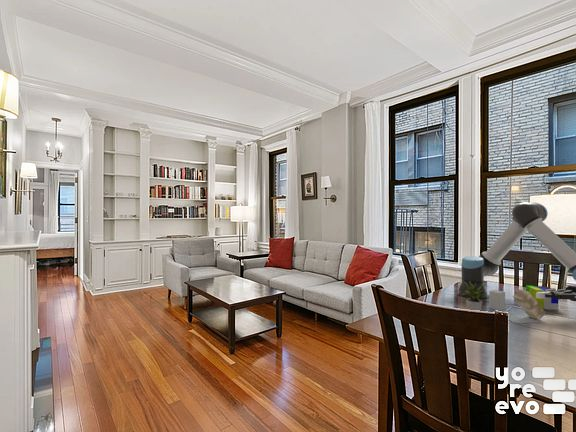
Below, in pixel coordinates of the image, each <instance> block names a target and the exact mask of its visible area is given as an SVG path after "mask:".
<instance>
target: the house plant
mask: <svg viewBox="0 0 576 432" xmlns="http://www.w3.org/2000/svg"><path fill="white" fill-rule="evenodd" d="M463 282H464V281H463ZM476 282H477V281H476ZM465 284H466V285H467V283H466V282H465ZM476 284H477V283H476ZM476 284H475V285H476ZM459 285H461V283H460V284H459ZM463 285H464V284H463ZM475 285H474V286H473V285H472V284H471V282H470V287H471V288H470V287H468V285H467V287H468V288H467V287H466V286H465V285H464V286H465V287H466V288H467V289H468V290H469V291H465V292H467V293H468V295H469V296H470V298H469V297H468V296H467V295H466V293H463V294H462V295H464V294H465V295H466V296H467V297H466V299H465V301H466V307H467V310H468V309H470V310H480V312H482V311H481V310H482V304H483V300H481V299H478V298H479V297H480V296H481V295H484V294H479V293H480V292H481V291H482V290H483V289H484V288H483V289H482V290H481V291H479V290H480V288H481V286H482V285H481V286H480V288H478V289H476V291H474V289H475ZM461 286H462V285H461ZM464 286H463V287H464ZM465 287H464V288H465ZM466 288H465V289H466ZM486 288H489V285H487V286H485V289H486ZM459 292H460V291H459ZM470 293H471V294H470ZM485 295H486V294H485ZM483 297H484V296H483ZM481 298H482V297H481Z"/></svg>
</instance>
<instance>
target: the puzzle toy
mask: <svg viewBox="0 0 576 432" xmlns="http://www.w3.org/2000/svg"><path fill="white" fill-rule="evenodd" d="M552 288H553V287H549V286H547V285H546V286H543V285H525V291H527V292H529V293H530V294H531V295H532V296H533V298H534V299H535V300H536V301H537V303H538V304H539V305H540V306H541V308H542V309H543V310H554V311H555V310H556V311H558V310H559V299H556V298H542V299H538V298H536V292H543V290H548V289H552Z"/></svg>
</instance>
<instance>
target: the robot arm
mask: <svg viewBox="0 0 576 432" xmlns="http://www.w3.org/2000/svg"><path fill="white" fill-rule="evenodd" d="M511 210H512V211H511V216H512V217H511V220H512V222H511V223H510V224H509V225H508V227H506V229H505V230H504V231H503V232H502V233H501V234H500V236H499V237H498V238H497V239H496V241H494V243H492V245H491V246H490V247H489V248H488V249H487V251H483V252H481V254H480V255H479V256H474V255H473V256H465V257H462V259H461V265H460V266H461V284H459V289H458V295H459V296H462V297H464V298H468V297H469V298H470V296H469V295H468V293H467V292H465V291H469V290H468V289H467V288H468V287H470V282H471V284H472V285H473V286H474V285H475V284H476V283H477V284H476V285H475V289H474V291H476V289H478V288H480V286H481V285H482V286H481V288H480V290H479V291H481V290H482V289H483V288H484V289H483V290H482V291H481V292H480V293H479V294H484V295H481V296H480V297H479V298H478V299H480V300H481V299H486V298H488V292H487V290H486V288H485V287H486V286H485V283H484V282H485V279H484V277H489V276H493V275H494V274H496V273H497V272H498V271H499V267H500V266H501V265H502V259H503V258H504V257H505V256H506V255H507V254H508V252H510V251H511V249H512V248H514V246H515V245H516V244H517V243H518V242H519V241H520V240H521V238H522V237H523V236H524V235H525V234H526V233H527V232H529V233H530V234H531V235H532V236H533V237H534V238H535V239H536V240H538V241H539V243H540V244H541V245H543V247H544V248H545V249H547V250H548V252H550V253H551V255H553V257H555V259H557V260H558V261H559V262H560V264H562V265H563V266H564V267H565V268H566V269H567V270H568V271H569V272H570V273H571V275H572V278H573V280H574V281H576V251H575V250H574V249H572V248H571V247H570V246H569V244H567V243H566V242H565V241H564V240H563V239H562V238H560V237H559V236H558V234H556V232H554V231H553V230H552V229H551V228H550V227H549V226H548V225H547V224H545V223H544V221H545V220H546V219H547V217H548V215H549V214H548V208H546V207H545V206H544V205H543V204H542V203H538V202H536V201H535V202H525V201H524V202H520V203H518V204H516V205H515V206H514V207H513V208H512V209H511ZM463 281H464V282H463ZM476 281H477V282H476ZM465 282H466V283H467V285H468V287H467V285H466V284H465ZM463 284H464V285H465V286H466V287H467V288H466V287H465V286H464V285H463ZM461 285H462V286H461ZM463 286H464V287H465V288H466V289H465V288H464V287H463ZM470 288H471V287H470ZM551 288H552V289H548V290H543V292H536V298H538V299H542V298H556V299H558V300H569V301H571V302H576V284H575V285H573V284H572V285H568V286H566V287H565V288H562V289H561V288H560V289H556V288H554V287H551ZM459 291H460V292H459ZM463 293H466V295H467V296H468V297H467V296H466V295H465V294H464V295H462V294H463ZM470 294H471V293H470ZM485 294H486V295H485ZM483 296H484V297H483ZM481 297H482V298H481Z"/></svg>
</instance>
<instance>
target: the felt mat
mask: <svg viewBox="0 0 576 432" xmlns="http://www.w3.org/2000/svg"><path fill="white" fill-rule="evenodd" d="M508 316H509V320H508V321H510V322H513V323H514V324H517V325H518V324H519V325H520V324H532V323H533V324H534V323H540V320H537V319H534V318H531V317H529V316H525V315H522V314H521V315H520V314H517V315H508Z"/></svg>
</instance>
